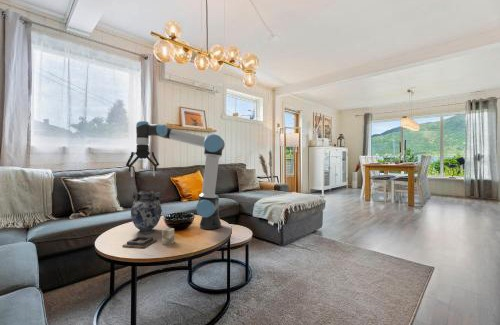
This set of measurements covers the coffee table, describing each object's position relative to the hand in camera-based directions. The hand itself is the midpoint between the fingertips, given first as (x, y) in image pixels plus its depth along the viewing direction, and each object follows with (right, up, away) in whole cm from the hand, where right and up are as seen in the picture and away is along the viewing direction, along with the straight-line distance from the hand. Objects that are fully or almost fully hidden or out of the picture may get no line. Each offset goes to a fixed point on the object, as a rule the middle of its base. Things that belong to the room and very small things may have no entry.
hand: (143, 176), depth 160 cm
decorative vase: (+2, -38, 0) cm, 38 cm away
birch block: (+24, -37, -21) cm, 49 cm away
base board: (+8, -37, -22) cm, 44 cm away
